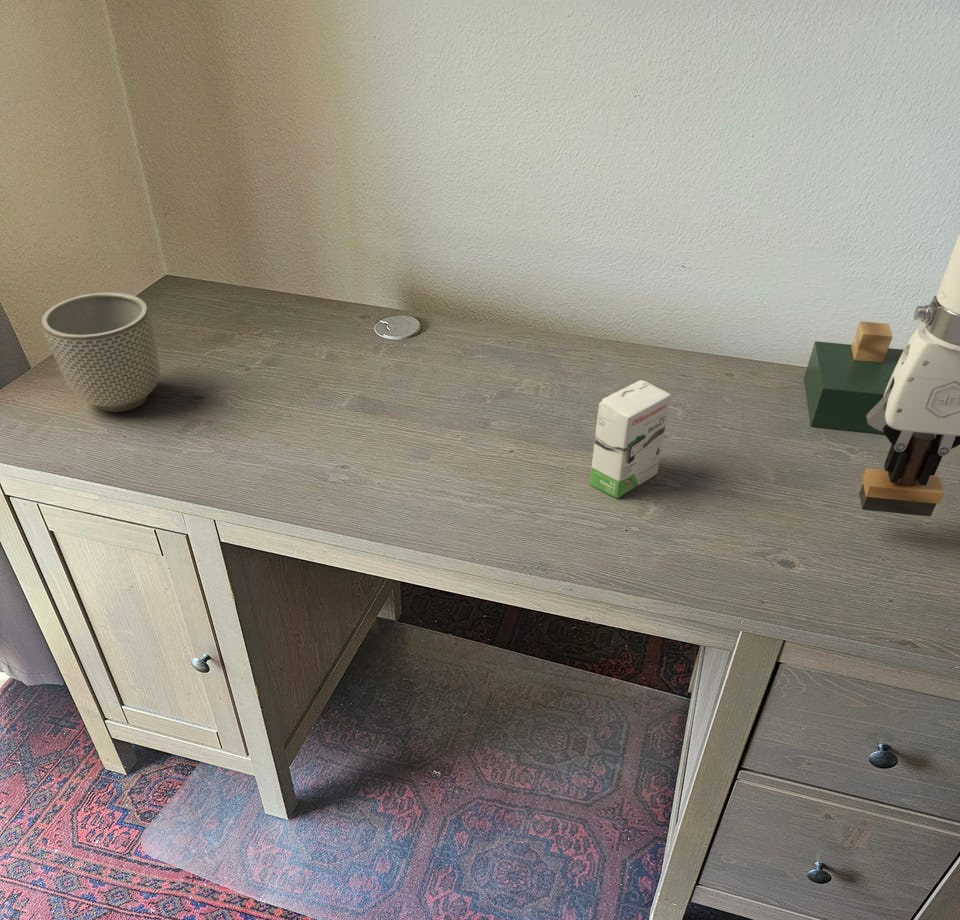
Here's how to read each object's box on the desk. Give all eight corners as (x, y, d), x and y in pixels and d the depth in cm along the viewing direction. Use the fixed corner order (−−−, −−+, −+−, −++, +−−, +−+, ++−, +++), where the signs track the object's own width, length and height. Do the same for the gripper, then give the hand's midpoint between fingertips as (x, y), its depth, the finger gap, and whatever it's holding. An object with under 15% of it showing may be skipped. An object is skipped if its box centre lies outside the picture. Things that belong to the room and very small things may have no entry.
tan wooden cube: (879, 350, 125) (888, 323, 122) (883, 363, 122) (892, 336, 119) (850, 347, 125) (859, 320, 122) (853, 360, 123) (862, 333, 120)
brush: (927, 499, 101) (958, 429, 95) (932, 518, 99) (965, 447, 92) (857, 492, 103) (882, 422, 96) (860, 510, 100) (886, 440, 93)
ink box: (616, 500, 109) (629, 417, 100) (587, 483, 111) (596, 401, 103) (659, 473, 113) (674, 392, 104) (629, 458, 115) (642, 377, 107)
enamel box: (901, 388, 129) (916, 350, 125) (916, 438, 119) (933, 399, 115) (803, 378, 131) (814, 340, 127) (810, 426, 121) (822, 388, 117)
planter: (128, 367, 132) (103, 283, 122) (191, 394, 126) (170, 308, 117) (51, 406, 124) (17, 318, 114) (115, 436, 118) (85, 347, 109)
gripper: (889, 332, 83) (835, 489, 96) (1068, 345, 81) (988, 504, 94) (879, 299, 88) (829, 452, 102) (1047, 310, 86) (974, 465, 99)
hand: (906, 476), depth 98 cm, fingers closed on brush, 2 cm apart
